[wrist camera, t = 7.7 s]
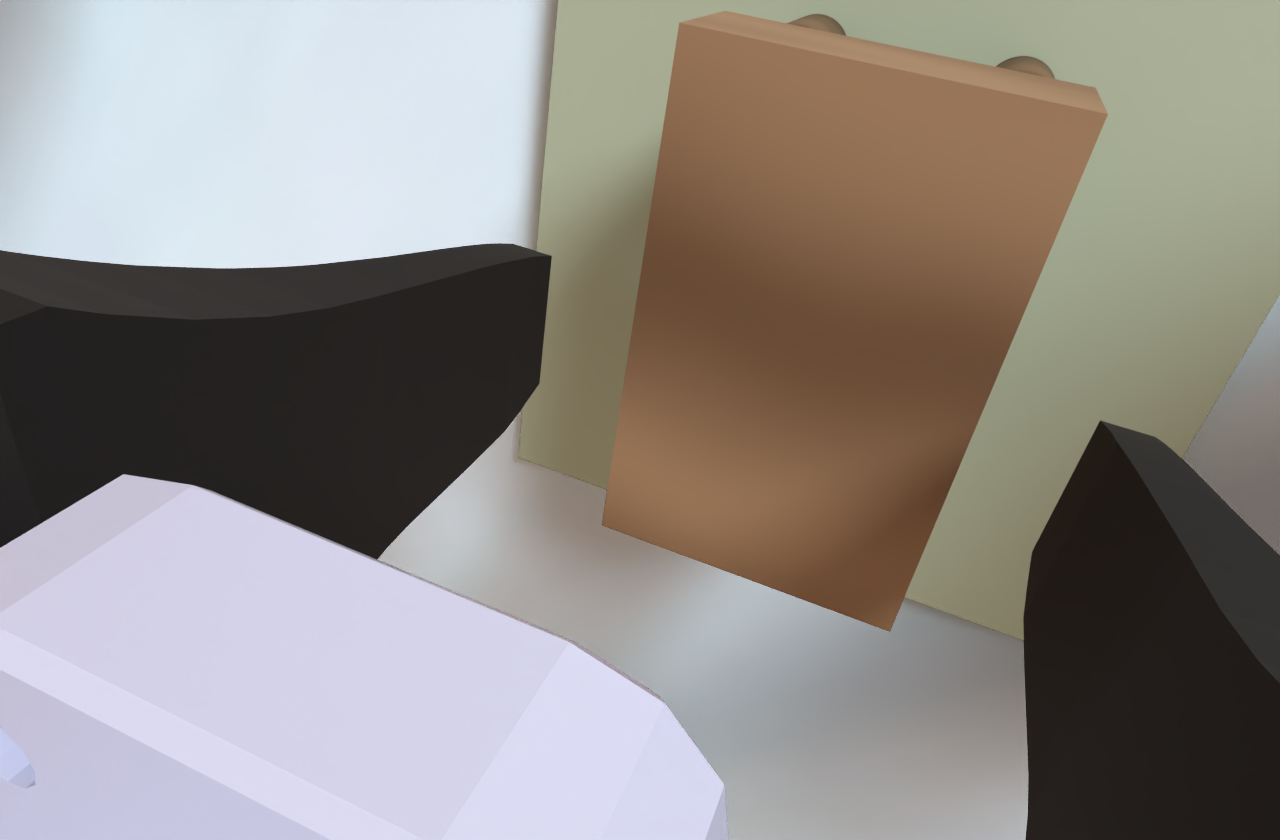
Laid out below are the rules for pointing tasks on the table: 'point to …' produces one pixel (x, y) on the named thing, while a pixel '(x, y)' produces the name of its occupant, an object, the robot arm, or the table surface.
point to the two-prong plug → (831, 296)
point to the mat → (1067, 287)
